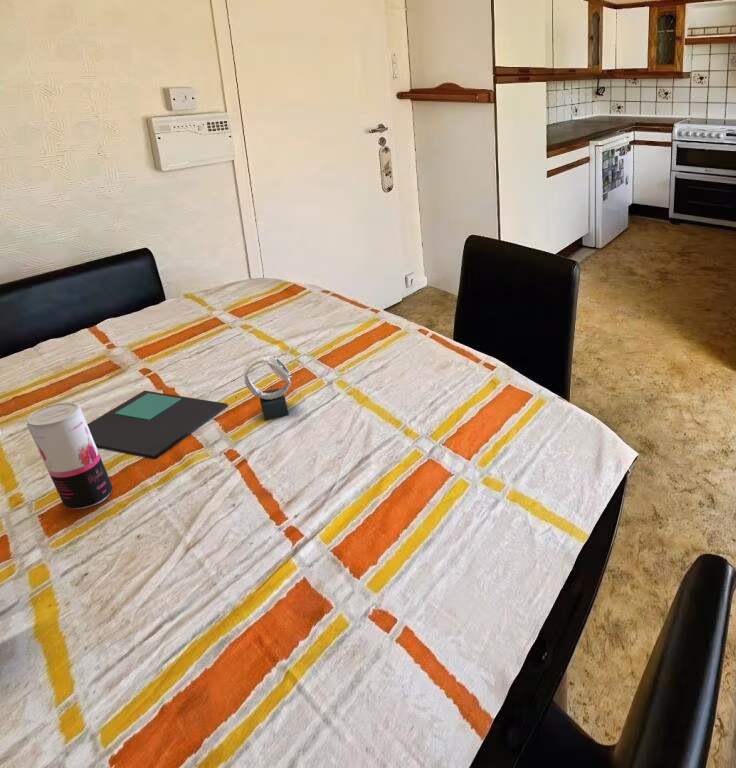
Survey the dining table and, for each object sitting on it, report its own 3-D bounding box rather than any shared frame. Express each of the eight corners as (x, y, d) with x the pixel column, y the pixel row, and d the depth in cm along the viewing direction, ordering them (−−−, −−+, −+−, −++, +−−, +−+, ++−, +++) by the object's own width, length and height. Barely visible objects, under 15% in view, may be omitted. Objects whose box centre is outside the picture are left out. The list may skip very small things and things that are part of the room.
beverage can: (120, 495, 96) (86, 411, 88) (72, 516, 91) (32, 430, 84) (104, 478, 100) (71, 397, 92) (58, 498, 95) (19, 414, 88)
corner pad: (114, 414, 116) (114, 413, 116) (148, 393, 123) (148, 393, 123) (148, 420, 114) (148, 419, 114) (181, 399, 121) (180, 398, 121)
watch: (299, 412, 116) (288, 359, 111) (254, 422, 114) (240, 369, 108) (296, 399, 121) (285, 348, 116) (252, 408, 118) (238, 356, 113)
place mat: (64, 441, 110) (63, 438, 109) (145, 392, 125) (144, 390, 124) (155, 458, 104) (154, 455, 104) (228, 406, 119) (227, 403, 119)
